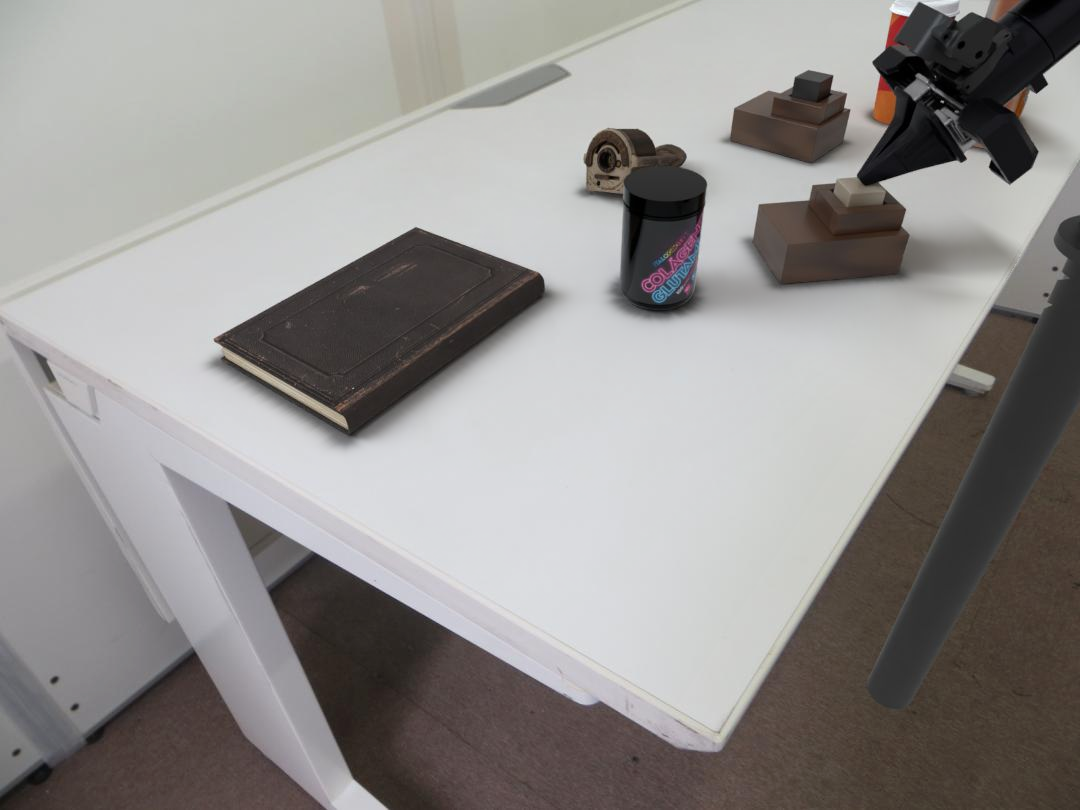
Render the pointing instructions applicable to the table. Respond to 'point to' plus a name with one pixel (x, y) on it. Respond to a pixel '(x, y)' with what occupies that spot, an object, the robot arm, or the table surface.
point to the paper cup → (901, 9)
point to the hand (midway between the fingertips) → (860, 181)
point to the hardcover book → (378, 325)
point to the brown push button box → (830, 237)
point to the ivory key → (858, 193)
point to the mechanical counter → (624, 157)
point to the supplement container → (661, 236)
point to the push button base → (791, 124)
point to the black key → (812, 86)
